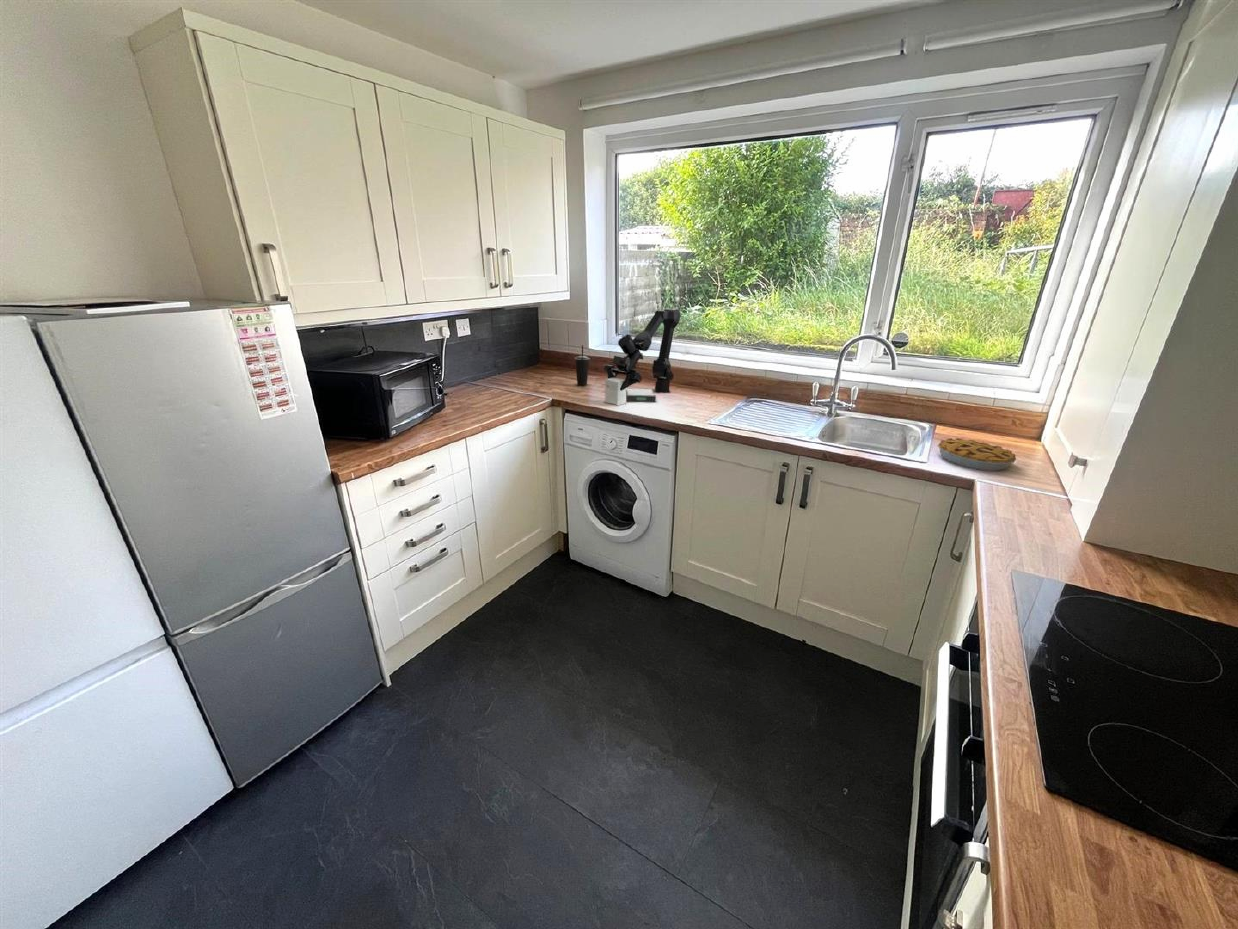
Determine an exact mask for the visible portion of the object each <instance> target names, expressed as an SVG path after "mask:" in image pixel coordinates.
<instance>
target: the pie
mask: <svg viewBox="0 0 1238 929" xmlns="http://www.w3.org/2000/svg"><path fill="white" fill-rule="evenodd" d="M937 448H938V449H939V453H940V456H941V458H942V459H943V460H945V461H948V462H950V463H953V464H956V465H959V466H961V467H967V468H970V469H974V470H980V471H987V472H988V471H989V472H990V471H991V472H993V471H994V472H997V471H1002V470H1005V469H1006V468H1008V466H1010V465H1011V464H1013V463H1015V461H1016V460H1017V457H1016V454H1015V453H1013V451H1012V450H1009V449H1008V448H1007V449H1006V448H1003V447H1002V446H1000V445H992V444H990V443H987V442H984V441H983V442H980V441H976V440H974V439H967V440H966V439H962V438H959V437H956V438H955V439H953V438H946V439H945V440H943V439H942V440H941V441H940V442H939V443H938V444H937Z"/></svg>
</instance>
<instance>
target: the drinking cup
mask: <svg viewBox="0 0 1238 929" xmlns="http://www.w3.org/2000/svg"><path fill="white" fill-rule="evenodd" d="M574 360H575V361H574V362H575V373H576V374H575V375H576V384H577V386H578V387H586V386H588V377H589V369H590V368H589V367H590V360H591V358H590V357H588V356H586V355H584V345H583V344H582V345H581V355H578V356H576V357H574Z"/></svg>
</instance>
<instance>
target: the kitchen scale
mask: <svg viewBox="0 0 1238 929" xmlns="http://www.w3.org/2000/svg"><path fill="white" fill-rule="evenodd" d="M656 399H657V396H656V395H655V393H654V391H653V390H652V389H651V388H626V403H627V402H630V403H631V402H632V403H633V402H634V403H656Z"/></svg>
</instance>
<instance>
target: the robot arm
mask: <svg viewBox="0 0 1238 929" xmlns="http://www.w3.org/2000/svg"><path fill="white" fill-rule="evenodd" d="M681 314H682V313H681V312H680V310H679V308H669V307H667V308H665V309H657V310H655V312H654V314H653V316H652V318H651V319H650V320H649V322H648V323H647V324H646V326H645V328H644V329H643V330H642V331H641V332H640V333H637V335H636V336H634V337H632V335H631V334H630V333H629V334H628V333H626V334H625V335H624V336H622V337H621V338H619V340H618V342H617V345H618V346H619V348H620V349H621V350H622V352H623V354H625V356H617V355H613V358H612V361H611V364H614V365H615V366H614V365H611V364H606V365H605V366H604V367H603V370H604V371H605V373H606V374H607V379H609V378H617V376H618V375H620V376H623V377H625V379H624V380H625V381H624V382H623V384H622V386H621V388H620V390H621V391H622V390H624V389H625V388H626V389H628V388H629V387H630V386H633V385H635V384H637V383H641V382H642V380H643V376H642V375H641V373H640V372H639V370H637V369H636V368H637V366H636V365H637V363H638V362H639V360H644V354H643V353H642V352H647V351H648V350H649V349H650V347H651V345H652V342H653V341H652V340H653V337H654V335H655V334H656V332H657V331H658V329H659V328H660V327H661V325H663V331H662V336H661V337H662V338H661V342H660V348H659V353H658V357H657V358H656V359H654V360H653V362H652V367H651V369H652V375H653V378H654V379H656V380H655V381H654V390H655V391H656V393H670V392H671V391H670V385H671V384H670V383H671V381H672V380H674V376H675V375H674V373H673V371H672V369H671V367H672V364H671V361H670V354H671V349H672V343H673V337H674V333H675V329H676V328H677V326H678V325H679V324H680V320H681V317H682V315H681ZM641 351H642V352H641Z"/></svg>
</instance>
